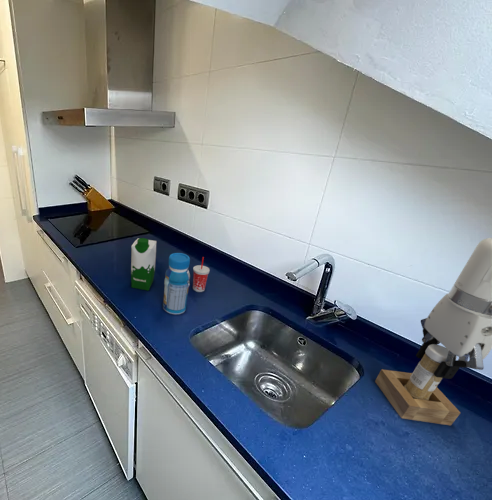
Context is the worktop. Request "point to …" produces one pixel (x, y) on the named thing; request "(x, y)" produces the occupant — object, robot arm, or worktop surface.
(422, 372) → the sprinkles bottle
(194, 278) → the beverage cup
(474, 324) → the robot arm
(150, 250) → the milk carton
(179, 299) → the beverage bottle
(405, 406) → the frame
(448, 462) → the worktop surface
